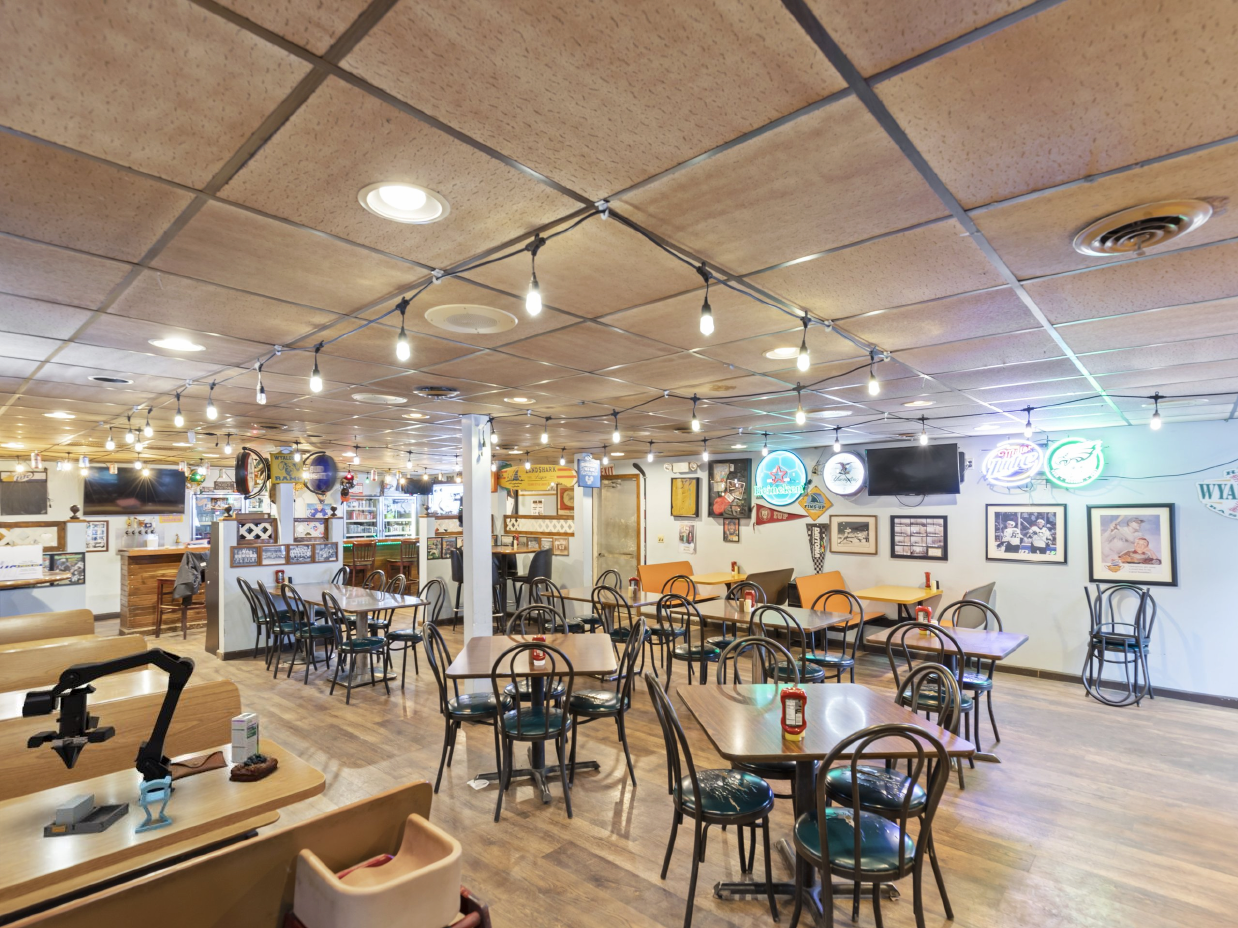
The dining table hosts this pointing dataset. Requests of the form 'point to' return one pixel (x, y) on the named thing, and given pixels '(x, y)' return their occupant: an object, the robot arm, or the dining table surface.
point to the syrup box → (245, 737)
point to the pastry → (253, 768)
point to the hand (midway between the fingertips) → (70, 768)
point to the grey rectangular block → (75, 809)
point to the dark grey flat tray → (90, 821)
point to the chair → (153, 798)
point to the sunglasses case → (197, 765)
